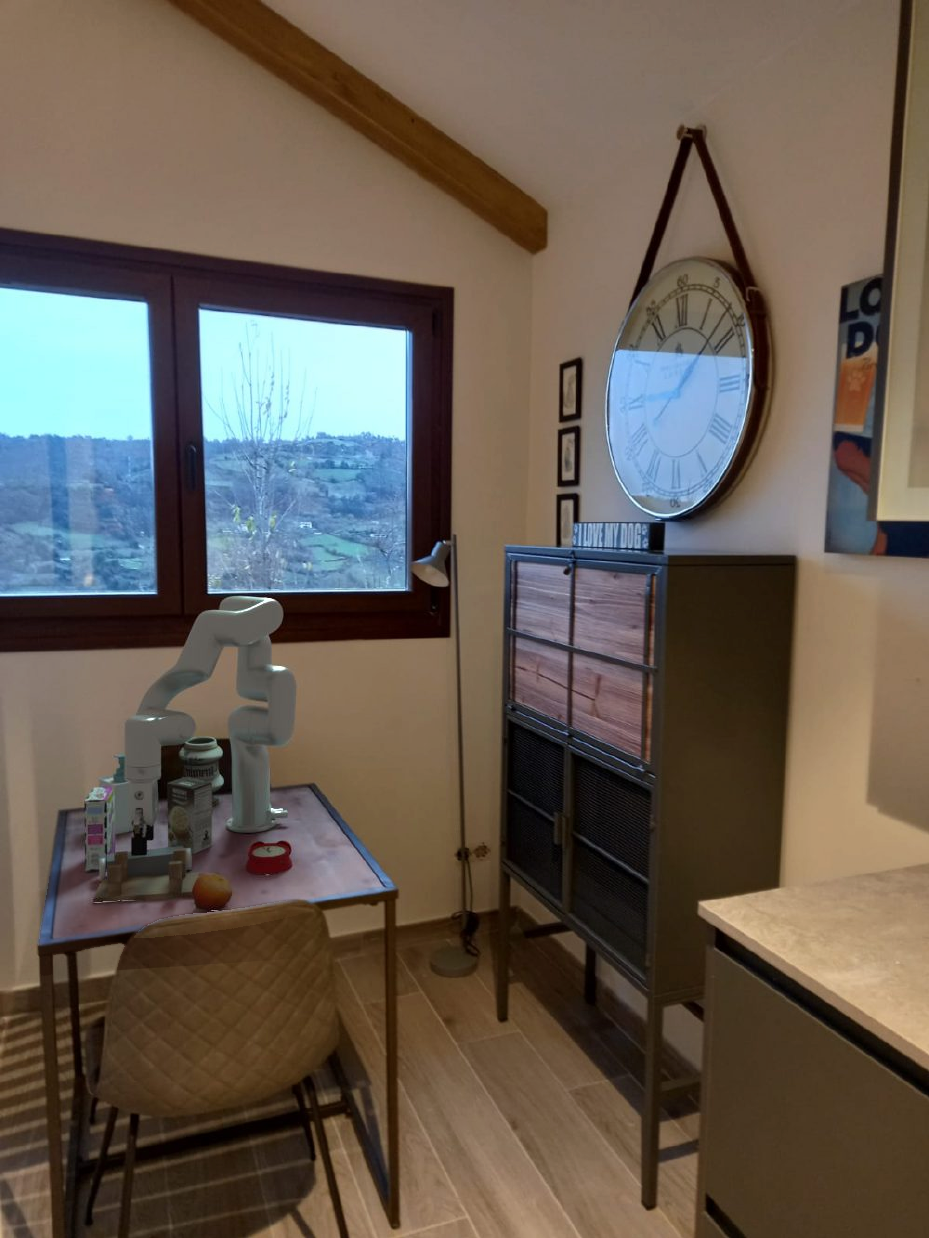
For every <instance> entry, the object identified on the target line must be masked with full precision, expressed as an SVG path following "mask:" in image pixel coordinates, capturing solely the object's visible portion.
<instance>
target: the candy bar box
mask: <svg viewBox="0 0 929 1238" xmlns="http://www.w3.org/2000/svg"><path fill="white" fill-rule="evenodd" d="M83 803H84V805H83V806H84V810H83V812H84V813H83V814H84V861H85V862H84V865H85V867H84V869H85V870H84V871H85V872H87V873H89V872H99V859H101V858H105V861H106V871H107V854H115V852H116V835H115V787H99V786H98V787H92V790H91V791H90V793H89V794H88V795H87V796H86V798H85V799H84V802H83Z"/></svg>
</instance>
